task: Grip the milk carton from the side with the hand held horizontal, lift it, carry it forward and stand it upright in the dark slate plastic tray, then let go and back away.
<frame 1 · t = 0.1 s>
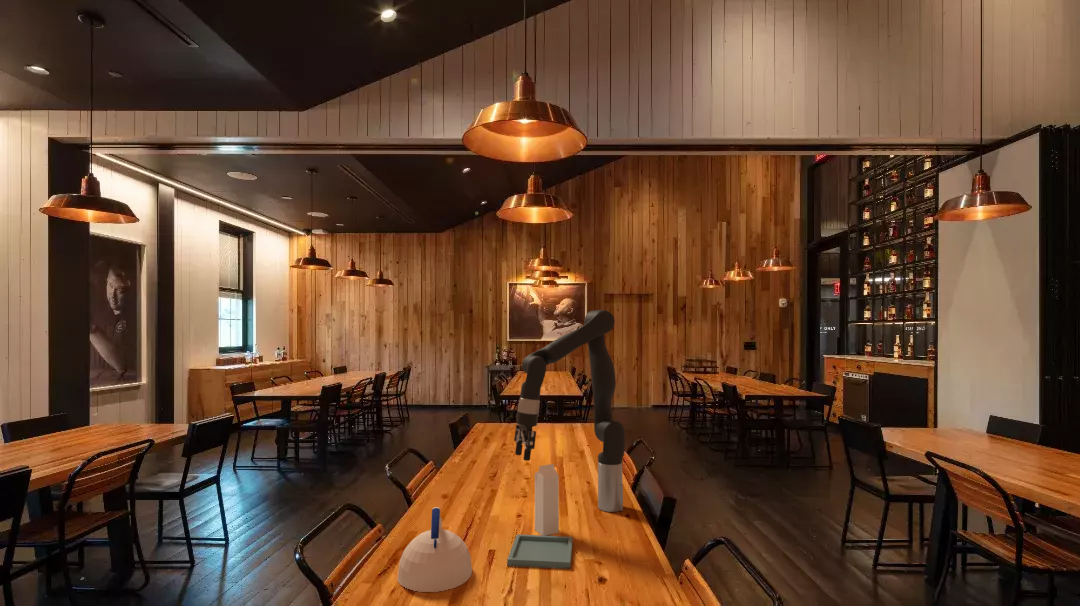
hand: (522, 457, 182), 22 cm above the table, tool pointing down, fingers open, 8 cm apart
dome with blue handle: (435, 575, 142), on the table
tray: (541, 553, 155), on the table
milk: (546, 532, 172), on the table
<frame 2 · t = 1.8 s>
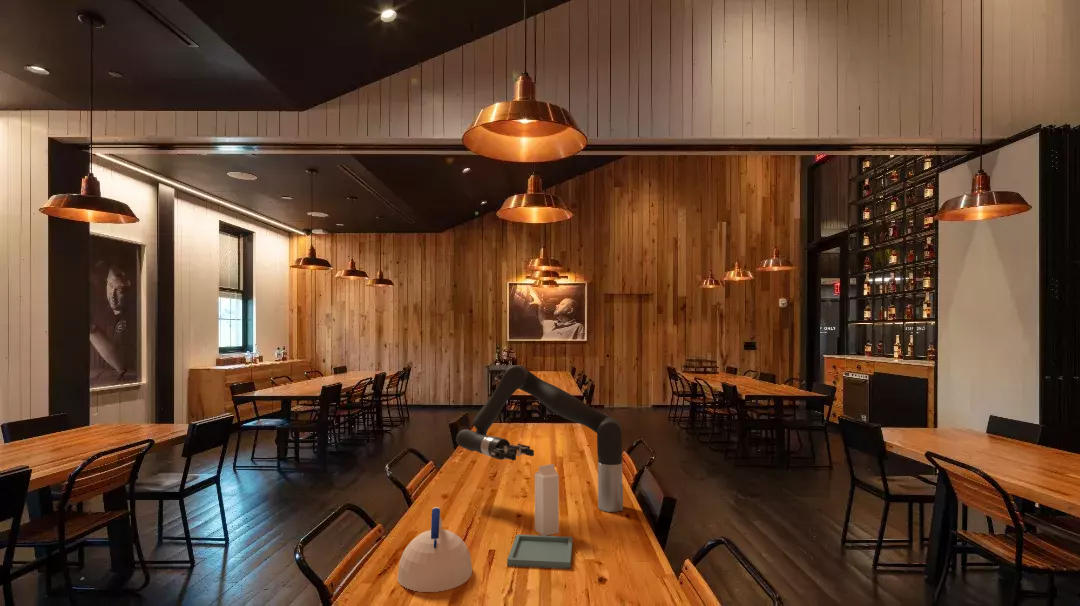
hand: (524, 455, 181), 23 cm above the table, tool horizontal, fingers open, 8 cm apart
nothing on the table moved.
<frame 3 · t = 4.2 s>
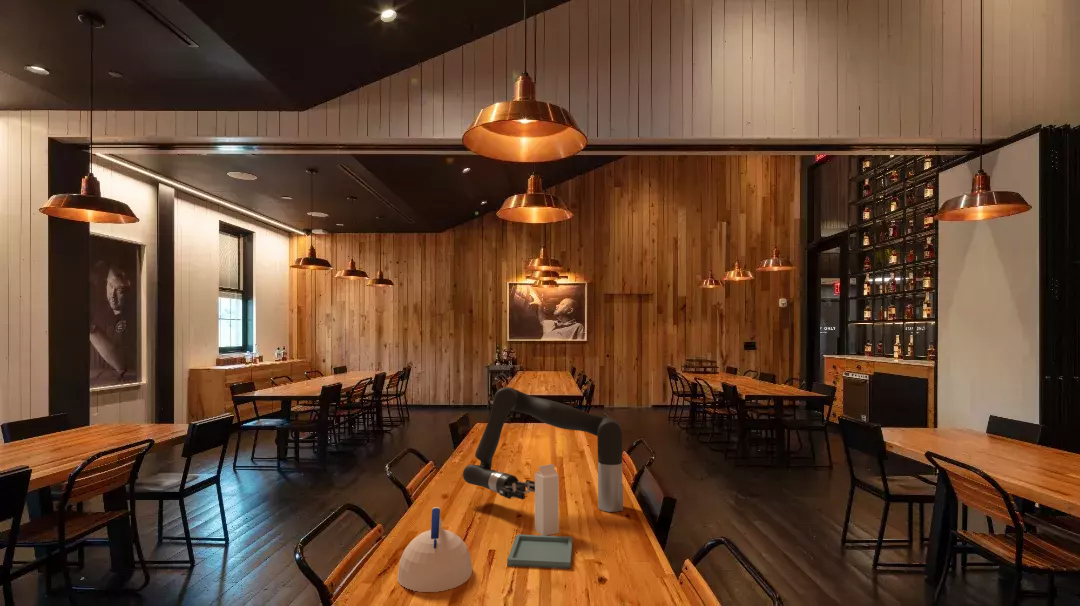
hand: (533, 493, 177), 11 cm above the table, tool horizontal, fingers open, 8 cm apart
nothing on the table moved.
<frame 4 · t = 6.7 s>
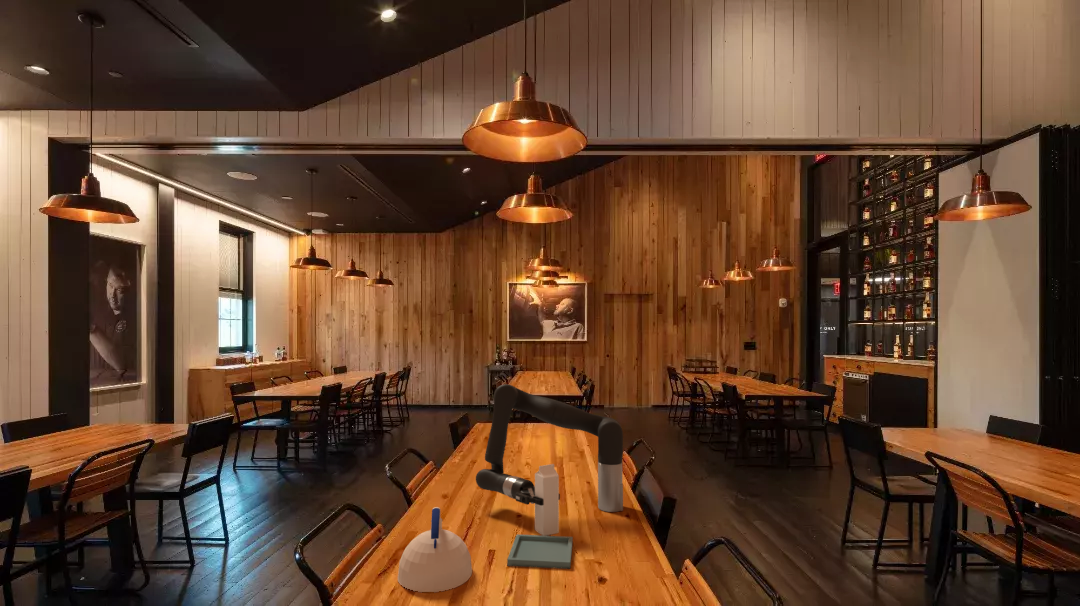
hand: (551, 499, 171), 11 cm above the table, tool horizontal, fingers closed on milk, 7 cm apart
milk: (546, 532, 172), on the table, touching gripper
everything else where it was.
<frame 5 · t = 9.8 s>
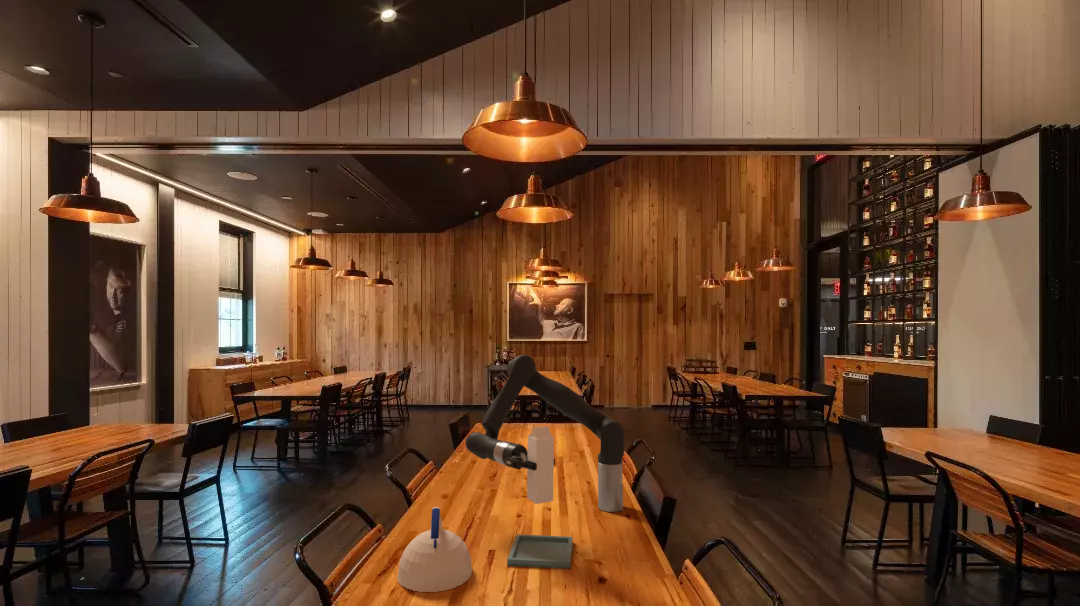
hand: (545, 464, 156), 27 cm above the table, tool horizontal, fingers closed on milk, 7 cm apart
milk: (540, 500, 157), point 16 cm above the table, touching gripper
everything else where it was.
when the fingers open (13 cm above the table, at t = 13.2 s): milk drops 1 cm, resting on tray.
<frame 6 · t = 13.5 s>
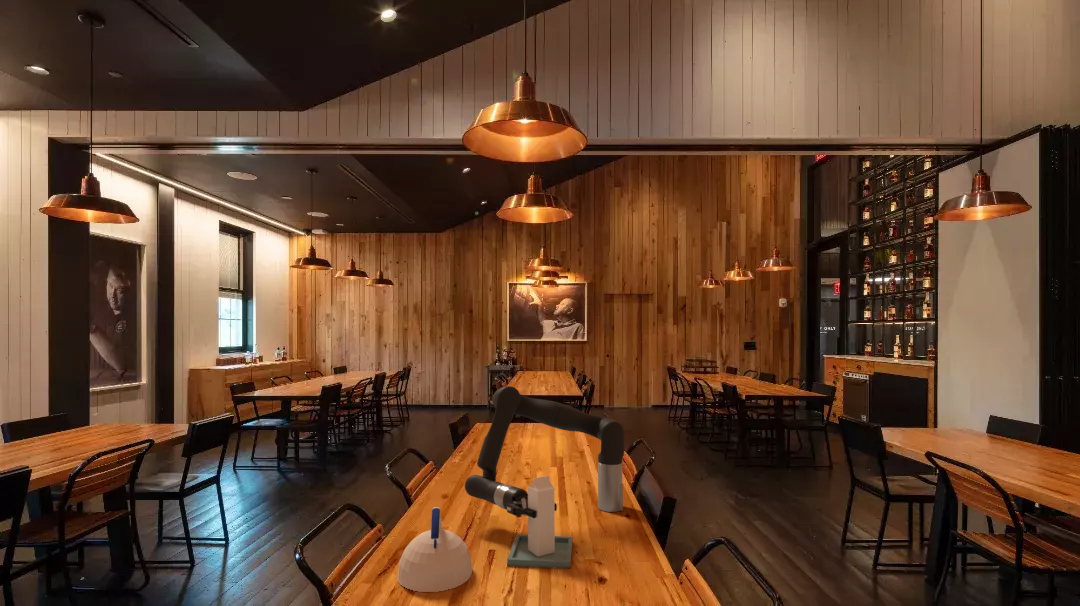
hand: (546, 511, 154), 13 cm above the table, tool horizontal, fingers open, 8 cm apart
milk: (541, 551, 155), resting on tray
everything else where it was.
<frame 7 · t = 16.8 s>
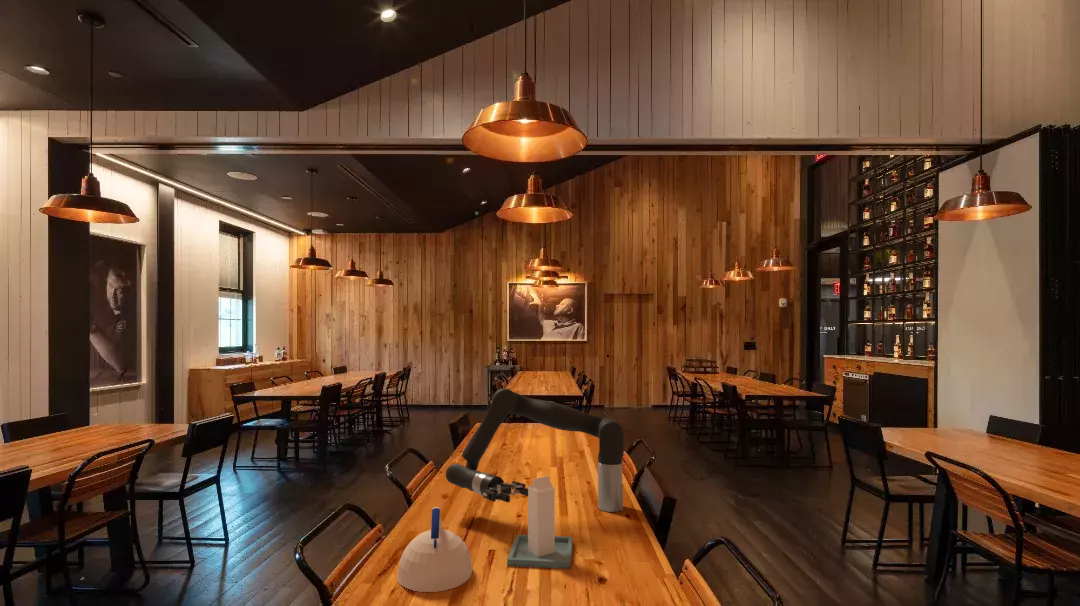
hand: (519, 495, 165), 14 cm above the table, tool horizontal, fingers open, 8 cm apart
nothing on the table moved.
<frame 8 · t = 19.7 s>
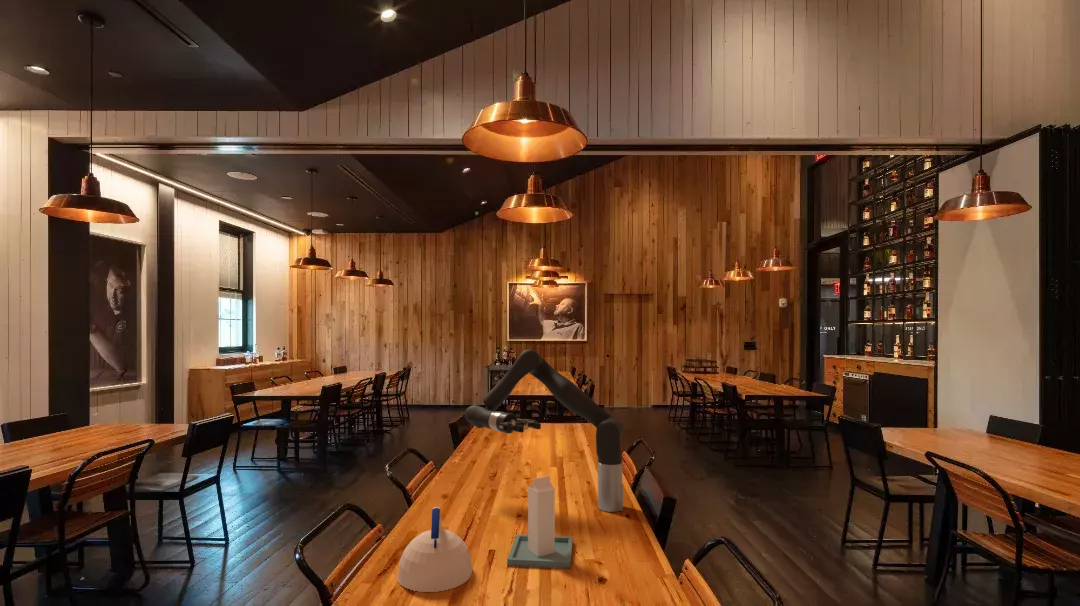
hand: (531, 427, 186), 32 cm above the table, tool horizontal, fingers open, 8 cm apart
nothing on the table moved.
at the end: milk inside the target area on the tray (0.1 cm from its centre), point 0.4 cm above the tray's base; milk tilted 0°; the gripper is holding nothing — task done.
